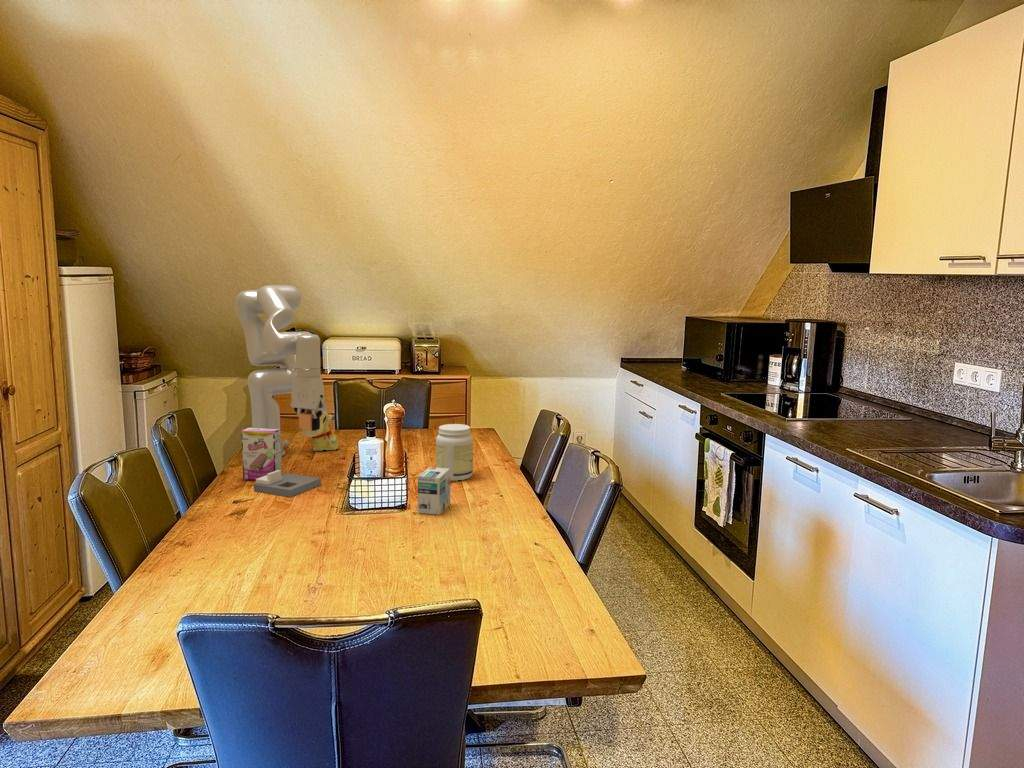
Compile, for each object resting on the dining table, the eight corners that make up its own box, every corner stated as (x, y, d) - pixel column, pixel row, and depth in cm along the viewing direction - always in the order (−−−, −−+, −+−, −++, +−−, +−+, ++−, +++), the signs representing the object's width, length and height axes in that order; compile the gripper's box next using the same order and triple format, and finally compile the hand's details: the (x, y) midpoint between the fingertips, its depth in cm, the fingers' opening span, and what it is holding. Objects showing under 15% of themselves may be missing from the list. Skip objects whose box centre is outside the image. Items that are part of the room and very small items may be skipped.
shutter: (270, 477, 214) (269, 467, 214) (282, 479, 212) (282, 469, 212) (255, 482, 209) (255, 472, 208) (268, 484, 207) (268, 474, 206)
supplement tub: (475, 472, 233) (475, 423, 230) (469, 482, 221) (470, 431, 218) (439, 471, 234) (440, 422, 231) (432, 481, 222) (432, 430, 219)
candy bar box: (242, 480, 218) (240, 430, 216) (249, 476, 223) (247, 427, 221) (276, 482, 217) (274, 431, 215) (282, 478, 222) (281, 428, 220)
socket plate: (285, 479, 221) (285, 472, 220) (321, 484, 215) (320, 478, 215) (253, 491, 208) (253, 484, 208) (290, 497, 203) (290, 490, 202)
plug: (308, 433, 224) (307, 406, 223) (319, 435, 222) (319, 407, 221) (299, 436, 220) (298, 408, 219) (310, 437, 218) (310, 409, 217)
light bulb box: (440, 515, 189) (440, 477, 188) (416, 513, 191) (416, 476, 189) (451, 503, 200) (451, 467, 198) (429, 501, 201) (429, 466, 199)
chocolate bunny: (308, 449, 260) (307, 410, 257) (338, 447, 264) (337, 409, 262) (310, 454, 253) (309, 414, 251) (340, 451, 258) (340, 412, 255)
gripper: (279, 372, 218) (280, 428, 221) (322, 376, 211) (323, 434, 214) (295, 369, 225) (296, 423, 228) (337, 373, 218) (338, 429, 221)
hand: (309, 428), depth 221 cm, fingers closed on plug, 4 cm apart
